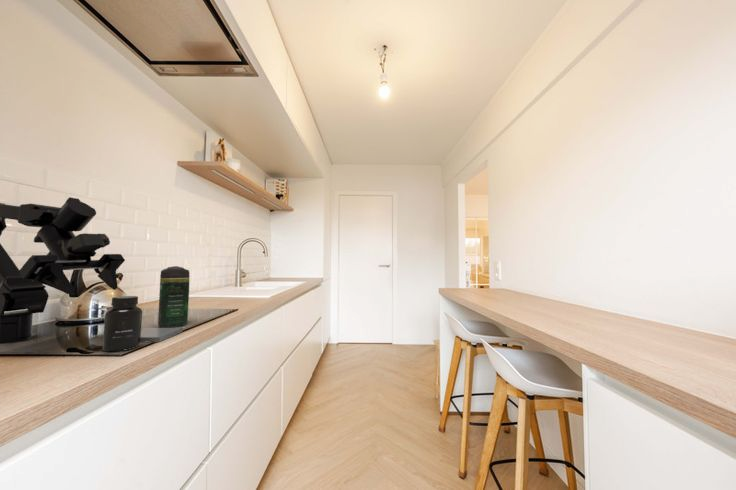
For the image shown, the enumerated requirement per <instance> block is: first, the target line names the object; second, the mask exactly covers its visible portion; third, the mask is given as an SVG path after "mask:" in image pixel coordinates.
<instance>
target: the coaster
mask: <svg viewBox="0 0 736 490" xmlns="http://www.w3.org/2000/svg"><path fill="white" fill-rule="evenodd" d="M183 332H184V331H183V327H145V328H141V339H140V343H146V342H145V341H154V342H153V343H161V342H163V341H165V340H167V339H169V338H172V337H174V336H176V335H179V334H181V333H183Z"/></svg>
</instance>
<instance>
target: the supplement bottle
mask: <svg viewBox="0 0 736 490" xmlns="http://www.w3.org/2000/svg"><path fill="white" fill-rule="evenodd" d="M111 298H112V299H111V303H110V305H111V307H112V308H109V309H108V310H107V311H106V312H105V314H104V323H103V324H104V325H103V326H104V327H103V337H102V342H103V343H102V350H103V351H105V352H108V351H116V352H120V351H119V350H124V349H129V348H133V347H136V346H138V345H139V346H140V344H141V342H140V339H141V330H142V322H143V321H142V320H143V310H142V309H141V307H138V306H137V305H138V304H139V300H138V299H139V296H136V295H123V296H114V297H111ZM139 346H138V347H139ZM136 348H137V347H136ZM133 349H134V348H133ZM129 350H130V349H129ZM124 351H125V350H124Z"/></svg>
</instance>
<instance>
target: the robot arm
mask: <svg viewBox="0 0 736 490" xmlns="http://www.w3.org/2000/svg"><path fill="white" fill-rule="evenodd" d="M96 215H97V211H96V209H95V208H94V207H93V206H91V205H89V204H87V203H85V202H83V201H81V200H80V199H79V198H74V197H68V198H67V199H66V201H65V202H64V204H63V205H61V207H58V206H50V205H44V204H37V203H25V204H23V203H22V204H20V205H19V206H18V205H12V204H6V203H4V202H0V237H1V236H2V234H3V232H4V230H5V229H6V228H7V224H6V223H7V222H6V219H8V220H15V221H17V223H19V224H21V225H24V226H26V227H30V228H32V227H33V228H40V229H39V230H38V232H37V233H36V235H35V237H34V239H33V243H39V244H44V245H45V247H46V248H47V249H48V251H49V252H48V253H47V254H37V255H36V254H33V255H31V256H30V257H29V258H28V259H27V260H26V261H25V263H24V264H23V265H22V267H21V268H20V269H19V268H18V266H17V264H16V263H15V262H14V261H13V259H12V257H11V256H10V255H9V254H8V251H6V249H5V248H4V246H3V245H2V244H1V243H0V344H1V343H8V342H11V343H12V342H19V341H21V342H22V341H27V340H29V339H32V338H33V337H36V336H37V335H39V333H38V332H32V331H33V319H34V317H33V316H34V314H39V313H40V314H41V313H44V312H45V309H46V306H47V303H48V300H49V297H50V296H49V293H48V290H47V289H46V288H47V286H48V287H50V288H53V289H55V290H57V291H59V292H61V293H62V292H63V293H65V294H67V295H69V296H74V295H75V293H76V291H75V289H74V286H73V285H72V283H71V282H70V280H69V279H68V277H67V276H66V274H65V273H64V271H76V270H93V271H94V272H95V273H96V274H98V275H97V277H98V278H99V279H100V280H101V281H102V282H103V283H105V284H106V286H108V287H109V288H110V289H112V290H117V289H118V279H117V270H118V269H119V268H120V267H121V266H122V264H123V263H124V262H125V261H126V259H125V257H123V255H122V254H121V253H104V254H102V256H101V257H100V258H99V259H93V260H92V257H95V256H96V254H97V252H96V251H97V250H99V249H103V248H105V247H107V246H109V245H110V244H111V243H110V242H111V241H110V238H109V237H108V235H107V234H106V233H79V234H77V235H76V234H75V233H74V232H82V231H83V229H84V228H85V227H86V226H87V225H88V224H90V222H91V221H92V219H93V218H94V217H95V216H96Z"/></svg>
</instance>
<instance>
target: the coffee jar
mask: <svg viewBox="0 0 736 490" xmlns="http://www.w3.org/2000/svg"><path fill="white" fill-rule="evenodd" d="M158 296H159V297H158V299H159V300H158V315H157V318H158V319H157V322H158V323H157V324H158V326H159V328H178V327H179V326H184V325H186V324H187V323H188V321H189V319H188V318H189V303H190V302H189V301H190V270H189V269H186V268H184V267H183V266H177V265H176V266H175V265H174V266H168V267H167V268H164V269H162V270H161V271H160V278H159V294H158Z"/></svg>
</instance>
